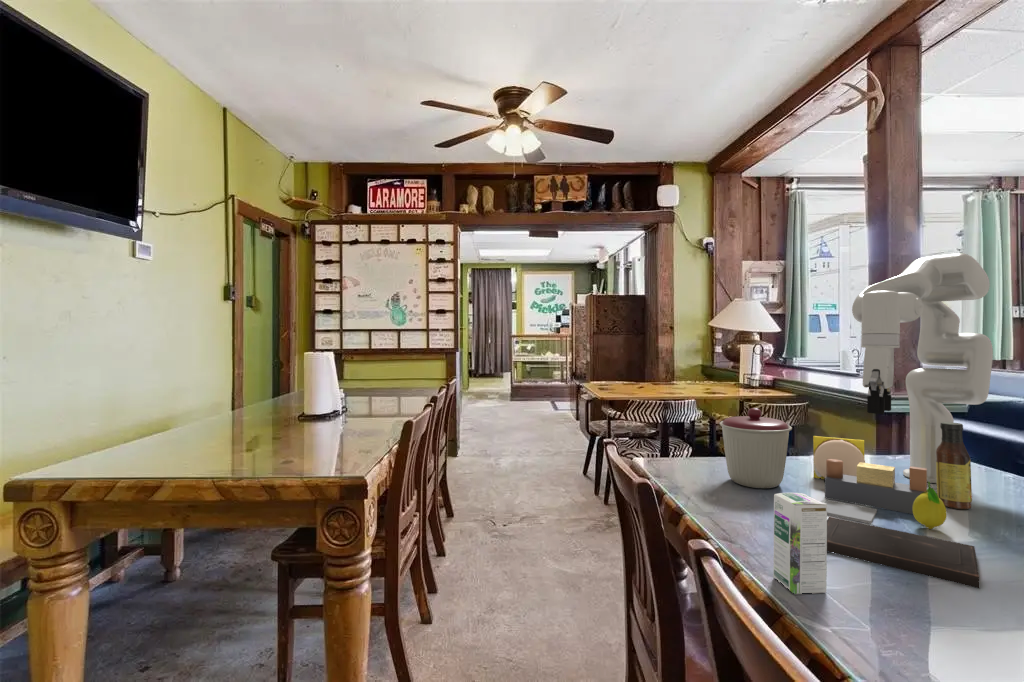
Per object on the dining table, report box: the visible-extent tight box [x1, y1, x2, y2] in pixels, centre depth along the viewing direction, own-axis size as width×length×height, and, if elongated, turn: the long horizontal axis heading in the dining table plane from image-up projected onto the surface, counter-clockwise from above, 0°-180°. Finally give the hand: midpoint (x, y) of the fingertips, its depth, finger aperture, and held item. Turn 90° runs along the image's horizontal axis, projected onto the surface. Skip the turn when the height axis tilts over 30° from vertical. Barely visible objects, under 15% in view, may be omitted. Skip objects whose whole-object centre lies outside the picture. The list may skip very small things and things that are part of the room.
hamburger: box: [812, 435, 866, 480], centre depth 137 cm, size 12×8×12 cm
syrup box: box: [772, 492, 828, 595], centre depth 80 cm, size 6×6×14 cm
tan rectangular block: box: [857, 462, 896, 488], centre depth 119 cm, size 5×7×4 cm
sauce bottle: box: [936, 422, 973, 510], centre depth 117 cm, size 7×6×20 cm
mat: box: [823, 499, 878, 525], centre depth 113 cm, size 10×10×1 cm
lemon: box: [912, 482, 948, 530], centre depth 103 cm, size 7×6×10 cm
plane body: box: [824, 459, 928, 515], centre depth 119 cm, size 7×20×10 cm, turn 47°
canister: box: [719, 407, 793, 489], centre depth 136 cm, size 18×18×21 cm
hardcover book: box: [827, 516, 980, 589], centre depth 92 cm, size 16×23×2 cm
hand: (879, 411), depth 119 cm, fingers open, 9 cm apart
